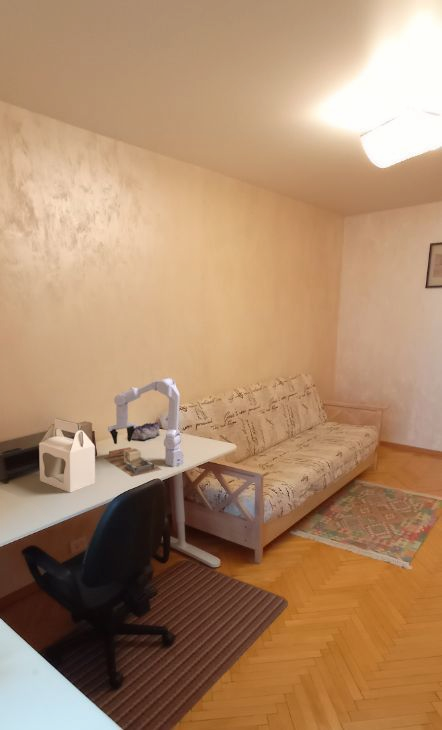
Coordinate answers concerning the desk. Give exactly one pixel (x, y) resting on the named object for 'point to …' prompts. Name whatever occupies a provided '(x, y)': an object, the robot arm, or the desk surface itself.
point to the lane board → (132, 469)
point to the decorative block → (85, 429)
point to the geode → (146, 431)
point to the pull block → (128, 455)
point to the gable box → (67, 457)
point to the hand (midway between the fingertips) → (122, 442)
